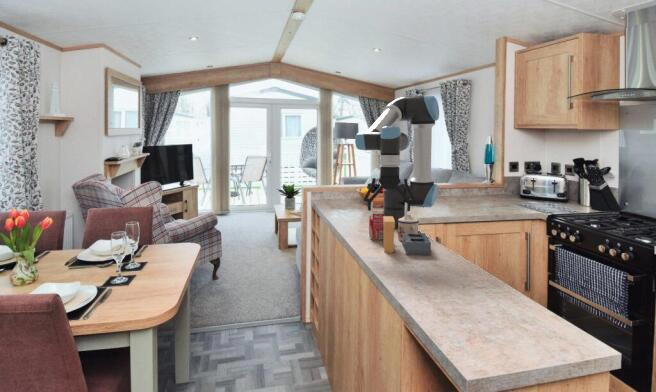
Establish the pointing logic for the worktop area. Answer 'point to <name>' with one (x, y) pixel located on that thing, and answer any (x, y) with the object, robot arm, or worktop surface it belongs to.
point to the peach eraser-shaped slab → (388, 234)
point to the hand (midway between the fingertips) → (388, 219)
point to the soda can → (376, 226)
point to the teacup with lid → (407, 226)
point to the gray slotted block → (416, 244)
